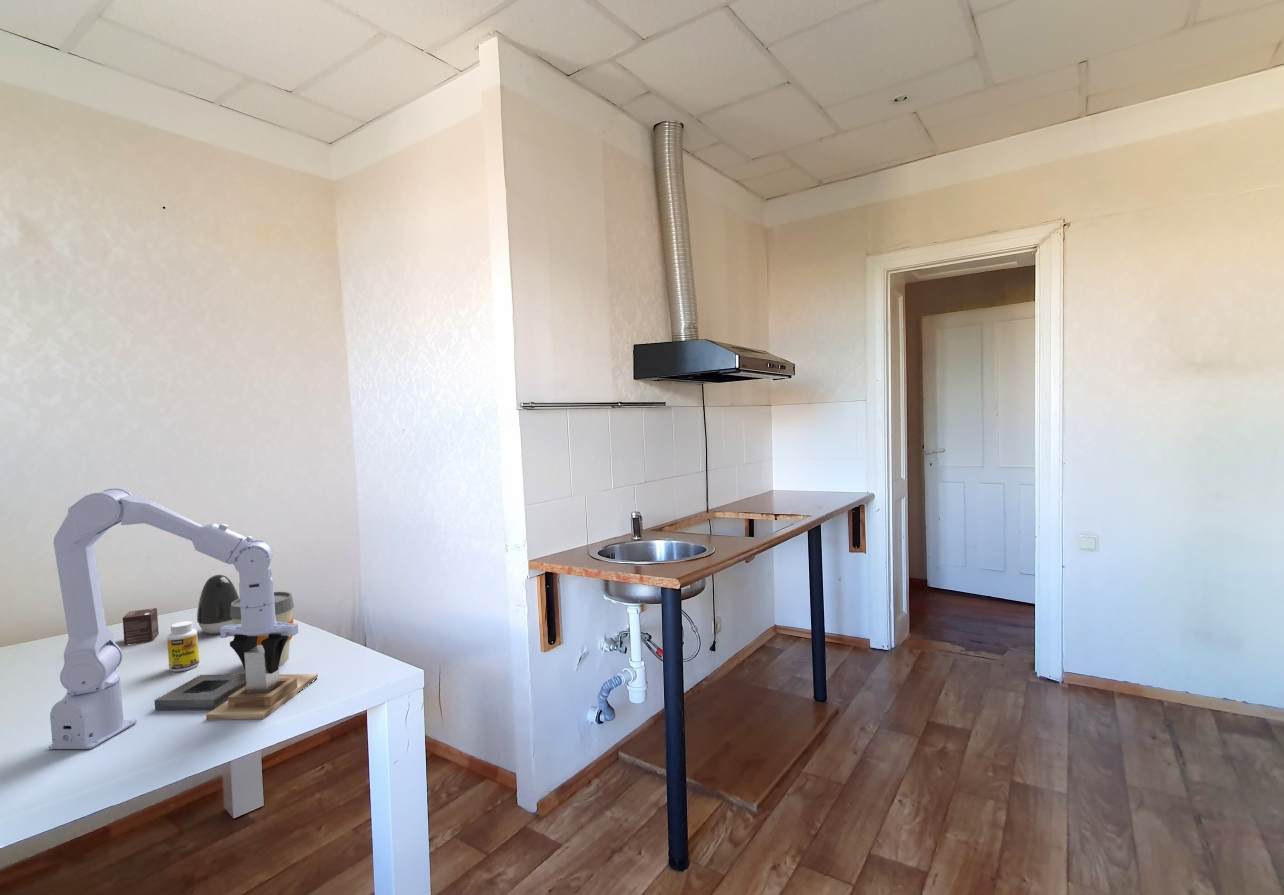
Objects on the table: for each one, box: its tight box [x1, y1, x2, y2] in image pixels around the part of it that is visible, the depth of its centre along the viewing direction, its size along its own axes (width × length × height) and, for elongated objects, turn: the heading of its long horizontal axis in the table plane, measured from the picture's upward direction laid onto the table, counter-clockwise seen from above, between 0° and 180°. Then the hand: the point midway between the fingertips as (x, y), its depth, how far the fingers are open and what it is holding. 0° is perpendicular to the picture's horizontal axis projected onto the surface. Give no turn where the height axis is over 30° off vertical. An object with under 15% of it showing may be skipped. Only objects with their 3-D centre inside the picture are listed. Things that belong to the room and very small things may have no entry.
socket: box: [154, 673, 246, 711], centre depth 128 cm, size 12×12×2 cm
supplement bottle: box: [166, 620, 200, 673], centre depth 144 cm, size 6×6×10 cm
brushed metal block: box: [244, 645, 280, 693], centre depth 124 cm, size 4×4×8 cm
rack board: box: [205, 673, 319, 721], centre depth 126 cm, size 18×11×3 cm, turn 177°
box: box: [122, 607, 160, 646], centre depth 164 cm, size 6×6×7 cm
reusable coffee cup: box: [230, 591, 295, 669], centre depth 145 cm, size 13×13×15 cm
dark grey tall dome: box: [196, 574, 240, 635], centre depth 169 cm, size 10×10×15 cm
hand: (262, 671), depth 124 cm, fingers closed on brushed metal block, 4 cm apart
